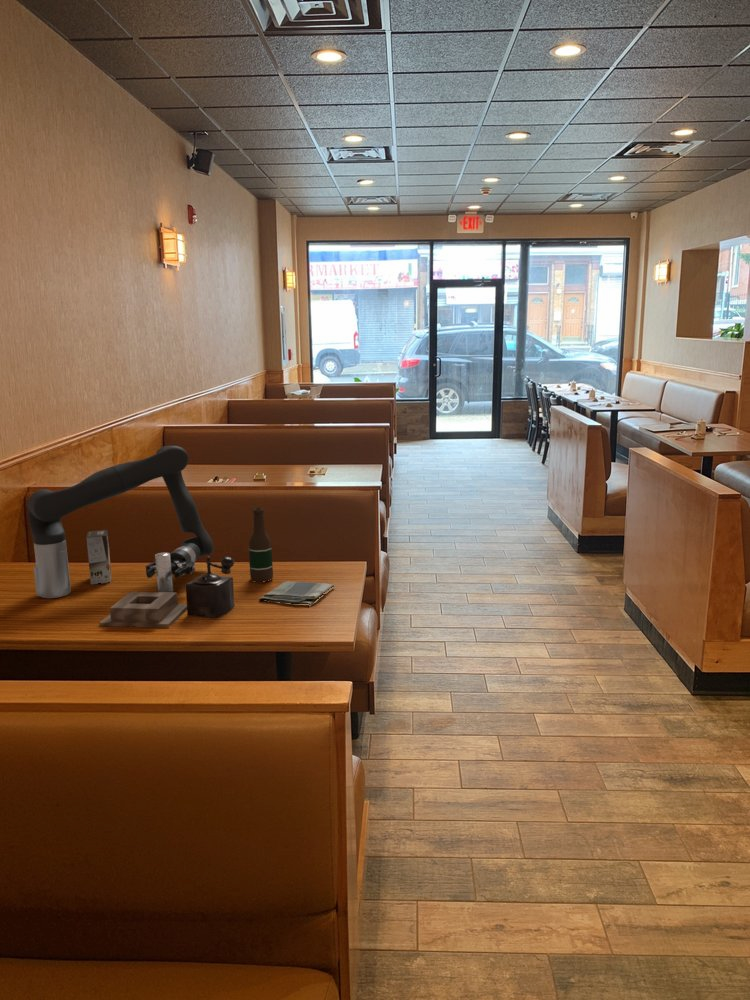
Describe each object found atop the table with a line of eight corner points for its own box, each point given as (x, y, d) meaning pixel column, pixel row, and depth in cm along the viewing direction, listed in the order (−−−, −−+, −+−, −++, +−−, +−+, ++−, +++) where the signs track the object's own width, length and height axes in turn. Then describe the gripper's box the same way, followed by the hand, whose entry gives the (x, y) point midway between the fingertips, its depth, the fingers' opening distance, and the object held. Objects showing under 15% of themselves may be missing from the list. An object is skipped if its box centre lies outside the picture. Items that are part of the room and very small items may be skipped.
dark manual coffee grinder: (184, 616, 218) (180, 555, 214) (204, 603, 228) (200, 545, 225) (233, 621, 213) (229, 559, 210) (251, 608, 224) (248, 549, 220)
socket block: (99, 625, 211) (97, 608, 210) (124, 606, 227) (122, 590, 226) (168, 627, 209) (167, 610, 208) (188, 607, 225) (187, 591, 224)
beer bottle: (245, 579, 251) (241, 508, 246) (266, 574, 256) (263, 505, 251) (256, 584, 245) (253, 512, 240) (277, 580, 250) (274, 508, 245)
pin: (156, 600, 232) (152, 556, 229) (162, 595, 236) (158, 552, 233) (170, 600, 231) (166, 556, 228) (175, 595, 236) (172, 552, 233)
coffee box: (111, 582, 250) (106, 535, 247) (90, 585, 248) (85, 537, 245) (111, 575, 259) (107, 529, 255) (91, 577, 257) (87, 531, 253)
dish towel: (284, 585, 246) (284, 575, 245) (335, 590, 240) (335, 580, 239) (257, 603, 229) (256, 593, 228) (311, 609, 223) (311, 599, 222)
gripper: (158, 548, 246) (138, 562, 230) (201, 549, 245) (183, 563, 229) (160, 570, 248) (140, 586, 232) (202, 571, 246) (185, 587, 230)
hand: (161, 575), depth 230 cm, fingers open, 8 cm apart
